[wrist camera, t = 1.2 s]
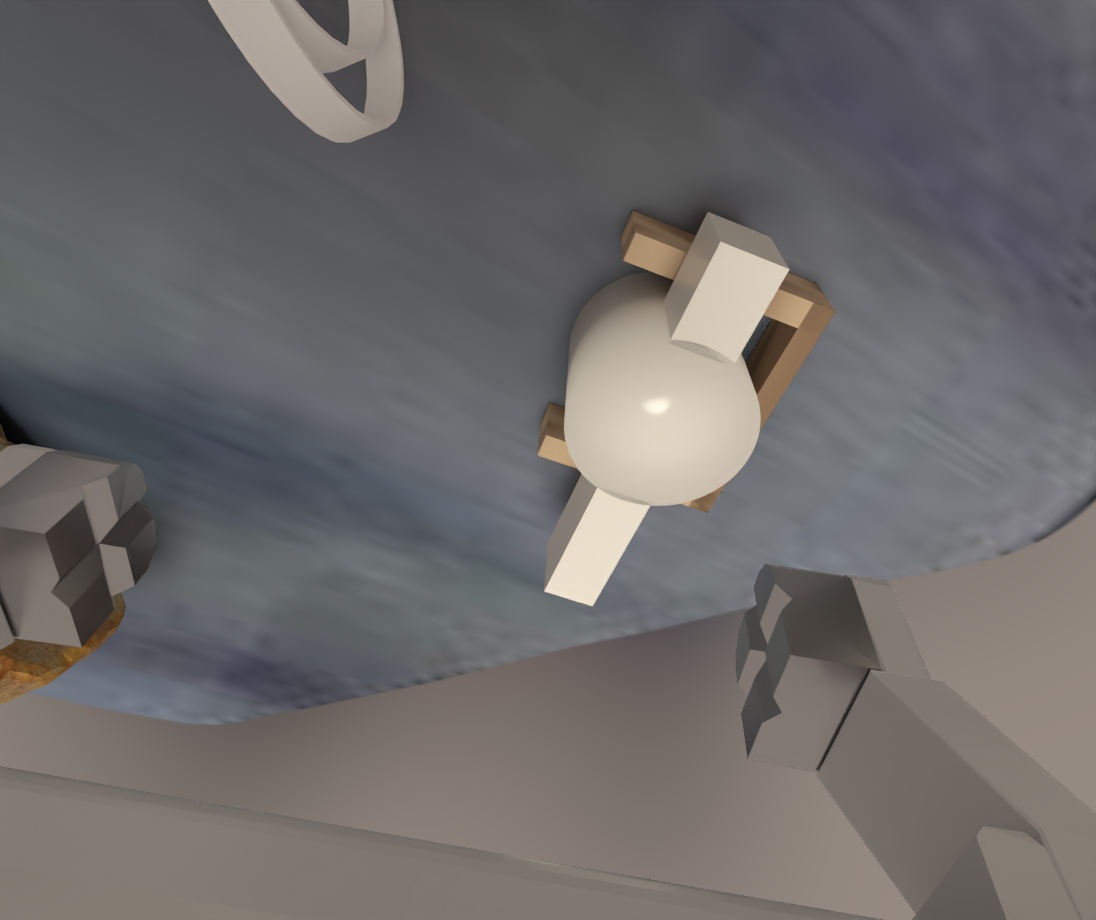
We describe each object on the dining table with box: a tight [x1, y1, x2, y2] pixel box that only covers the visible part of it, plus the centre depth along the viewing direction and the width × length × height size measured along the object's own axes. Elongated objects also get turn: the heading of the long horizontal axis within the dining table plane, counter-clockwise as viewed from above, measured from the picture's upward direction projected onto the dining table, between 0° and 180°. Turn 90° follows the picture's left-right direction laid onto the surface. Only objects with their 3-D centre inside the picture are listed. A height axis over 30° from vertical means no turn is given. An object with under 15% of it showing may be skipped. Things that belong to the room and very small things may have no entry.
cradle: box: [537, 211, 835, 513], centre depth 34 cm, size 9×11×3 cm
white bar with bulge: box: [544, 212, 789, 606], centre depth 33 cm, size 8×17×7 cm, turn 160°
